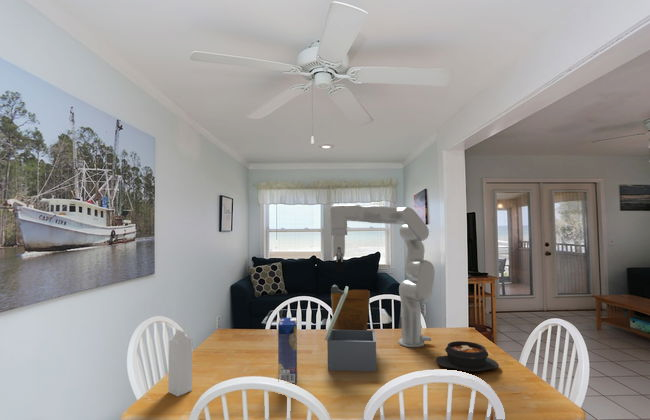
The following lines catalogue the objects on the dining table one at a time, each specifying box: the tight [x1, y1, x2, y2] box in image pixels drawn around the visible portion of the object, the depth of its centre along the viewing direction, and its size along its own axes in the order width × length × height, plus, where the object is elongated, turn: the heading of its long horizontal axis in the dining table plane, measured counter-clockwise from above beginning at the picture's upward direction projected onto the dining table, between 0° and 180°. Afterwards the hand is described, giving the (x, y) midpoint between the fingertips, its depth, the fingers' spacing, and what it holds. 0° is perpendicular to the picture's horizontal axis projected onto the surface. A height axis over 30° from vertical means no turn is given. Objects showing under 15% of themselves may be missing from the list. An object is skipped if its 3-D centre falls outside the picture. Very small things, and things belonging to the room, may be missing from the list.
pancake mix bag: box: [330, 289, 371, 330], centre depth 181 cm, size 7×19×28 cm, turn 80°
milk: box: [167, 329, 193, 398], centre depth 134 cm, size 6×6×22 cm
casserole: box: [435, 340, 500, 373], centre depth 154 cm, size 25×19×8 cm
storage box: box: [326, 329, 377, 373], centre depth 159 cm, size 20×16×12 cm
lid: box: [324, 284, 349, 341], centre depth 160 cm, size 21×17×7 cm
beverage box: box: [277, 317, 298, 384], centre depth 145 cm, size 7×11×22 cm, turn 3°
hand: (340, 269), depth 167 cm, fingers open, 9 cm apart
